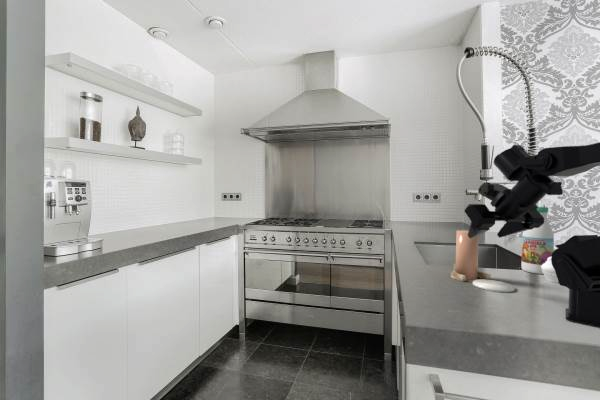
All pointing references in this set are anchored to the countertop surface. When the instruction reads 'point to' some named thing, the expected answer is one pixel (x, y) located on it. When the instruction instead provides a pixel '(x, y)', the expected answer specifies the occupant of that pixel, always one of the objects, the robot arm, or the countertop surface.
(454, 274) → the wooden blocks
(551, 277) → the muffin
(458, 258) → the salmon tan cylinder
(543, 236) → the milk bottle
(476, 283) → the white disc
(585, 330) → the countertop surface
